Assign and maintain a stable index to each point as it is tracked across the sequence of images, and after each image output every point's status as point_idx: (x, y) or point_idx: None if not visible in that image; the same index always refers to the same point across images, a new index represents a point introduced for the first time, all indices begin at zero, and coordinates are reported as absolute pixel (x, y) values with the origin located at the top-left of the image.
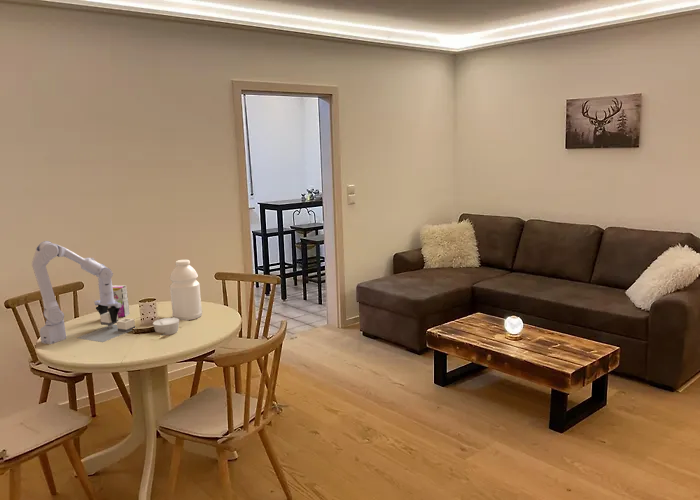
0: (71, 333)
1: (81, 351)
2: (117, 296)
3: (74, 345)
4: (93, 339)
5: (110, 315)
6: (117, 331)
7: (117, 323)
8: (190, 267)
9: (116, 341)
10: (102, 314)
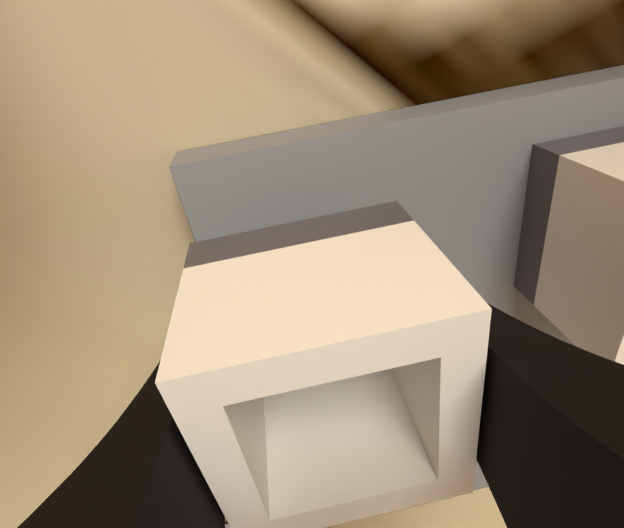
0: (21, 482)
1: (499, 524)
2: None
3: (364, 524)
4: None
5: (486, 465)
6: (522, 297)
7: (591, 350)
8: None
9: None
10: (256, 521)
